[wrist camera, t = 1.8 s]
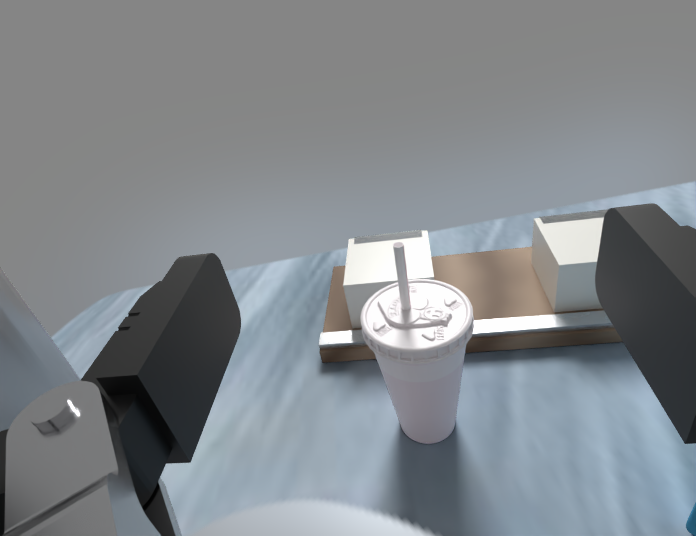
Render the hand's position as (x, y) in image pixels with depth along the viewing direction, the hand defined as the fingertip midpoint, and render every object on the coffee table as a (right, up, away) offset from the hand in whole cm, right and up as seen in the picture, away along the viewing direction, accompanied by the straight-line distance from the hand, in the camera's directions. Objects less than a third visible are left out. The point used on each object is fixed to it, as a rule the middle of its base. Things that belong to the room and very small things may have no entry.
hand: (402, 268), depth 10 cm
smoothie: (+4, -10, +22) cm, 24 cm away
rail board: (+11, -3, +30) cm, 32 cm away
